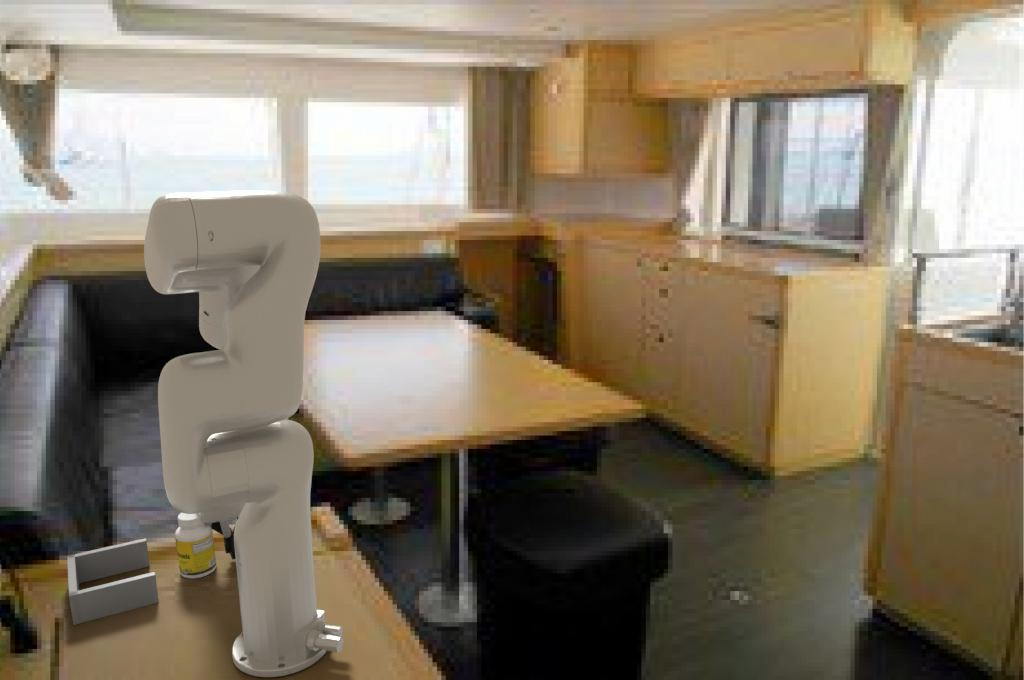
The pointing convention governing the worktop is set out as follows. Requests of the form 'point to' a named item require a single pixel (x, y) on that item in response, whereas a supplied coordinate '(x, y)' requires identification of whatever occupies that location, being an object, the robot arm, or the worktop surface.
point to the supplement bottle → (194, 546)
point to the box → (112, 594)
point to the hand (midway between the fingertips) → (235, 554)
